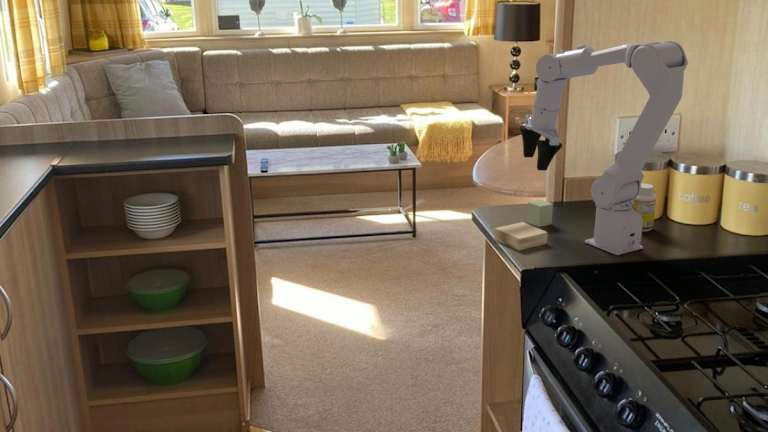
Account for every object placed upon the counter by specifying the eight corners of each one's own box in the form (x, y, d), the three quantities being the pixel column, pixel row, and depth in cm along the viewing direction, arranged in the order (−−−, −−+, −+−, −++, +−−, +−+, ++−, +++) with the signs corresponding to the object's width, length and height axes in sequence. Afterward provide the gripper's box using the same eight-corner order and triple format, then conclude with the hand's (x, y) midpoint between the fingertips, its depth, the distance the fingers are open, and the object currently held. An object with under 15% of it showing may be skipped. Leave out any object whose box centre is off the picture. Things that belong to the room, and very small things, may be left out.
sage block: (551, 224, 184) (553, 203, 182) (538, 227, 182) (540, 206, 180) (539, 219, 187) (540, 199, 185) (526, 222, 185) (528, 202, 183)
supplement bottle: (628, 223, 184) (632, 181, 181) (653, 226, 182) (658, 183, 179) (626, 230, 179) (630, 187, 176) (652, 233, 177) (657, 190, 174)
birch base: (546, 245, 171) (547, 232, 170) (518, 252, 167) (519, 238, 166) (521, 234, 178) (522, 222, 177) (494, 241, 174) (494, 228, 173)
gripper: (517, 96, 182) (506, 151, 187) (544, 117, 169) (531, 175, 175) (545, 97, 183) (534, 151, 189) (573, 118, 171) (560, 175, 177)
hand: (534, 163), depth 182 cm, fingers open, 7 cm apart
